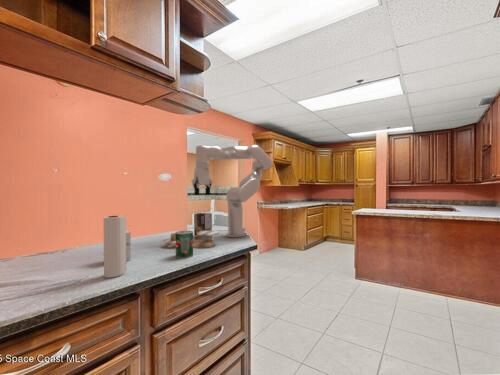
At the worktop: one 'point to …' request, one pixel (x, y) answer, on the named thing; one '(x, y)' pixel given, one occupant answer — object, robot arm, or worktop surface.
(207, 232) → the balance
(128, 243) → the supplement box
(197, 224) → the coffee box
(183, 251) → the canned tomato
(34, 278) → the worktop surface
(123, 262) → the paper towel roll
